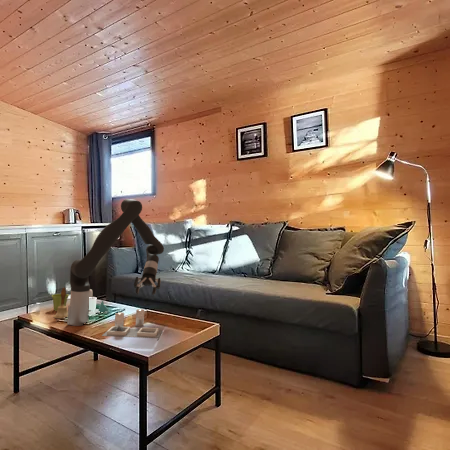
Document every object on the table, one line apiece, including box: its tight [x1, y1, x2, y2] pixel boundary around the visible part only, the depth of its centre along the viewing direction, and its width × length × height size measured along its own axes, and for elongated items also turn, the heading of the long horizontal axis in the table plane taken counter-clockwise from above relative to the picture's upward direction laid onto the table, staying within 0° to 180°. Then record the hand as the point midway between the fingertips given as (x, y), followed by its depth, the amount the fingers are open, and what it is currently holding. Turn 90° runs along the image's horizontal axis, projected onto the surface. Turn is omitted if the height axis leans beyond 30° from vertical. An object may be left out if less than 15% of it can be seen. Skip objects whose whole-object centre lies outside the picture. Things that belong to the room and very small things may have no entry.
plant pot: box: [51, 293, 70, 312], centre depth 209 cm, size 9×9×9 cm
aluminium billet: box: [135, 308, 145, 328], centre depth 181 cm, size 4×4×9 cm
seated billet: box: [114, 311, 125, 332], centre depth 167 cm, size 4×4×9 cm
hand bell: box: [53, 287, 68, 319], centre depth 194 cm, size 8×8×16 cm
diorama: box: [98, 300, 109, 312], centre depth 206 cm, size 12×20×9 cm, turn 154°
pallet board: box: [101, 325, 164, 341], centre depth 168 cm, size 26×13×2 cm, turn 91°
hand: (145, 293), depth 191 cm, fingers open, 8 cm apart
